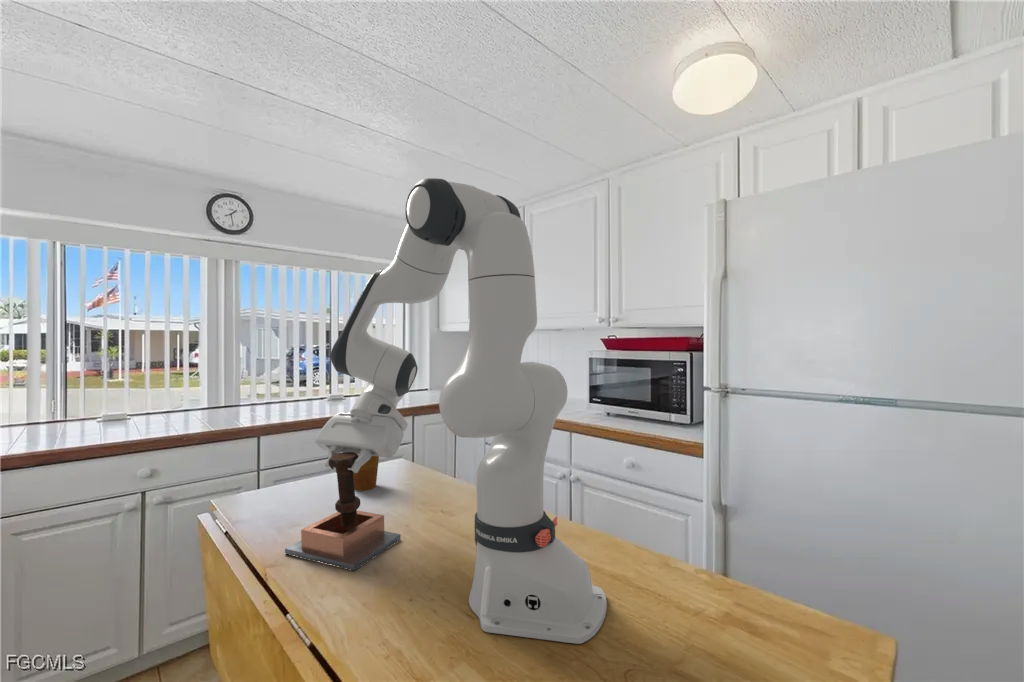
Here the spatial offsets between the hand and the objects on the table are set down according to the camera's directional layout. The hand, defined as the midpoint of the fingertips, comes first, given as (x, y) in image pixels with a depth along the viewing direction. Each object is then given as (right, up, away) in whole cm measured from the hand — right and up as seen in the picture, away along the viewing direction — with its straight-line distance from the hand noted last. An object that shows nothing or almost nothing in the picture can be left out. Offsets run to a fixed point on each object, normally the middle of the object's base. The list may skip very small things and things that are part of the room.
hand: (340, 469), depth 94 cm
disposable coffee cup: (-7, -16, +38) cm, 42 cm away
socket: (+1, -16, +1) cm, 16 cm away
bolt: (+1, -12, +2) cm, 12 cm away
